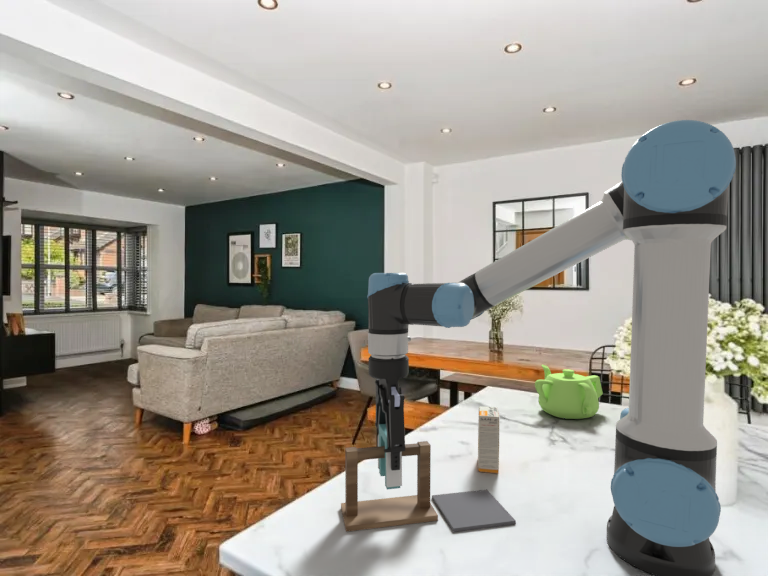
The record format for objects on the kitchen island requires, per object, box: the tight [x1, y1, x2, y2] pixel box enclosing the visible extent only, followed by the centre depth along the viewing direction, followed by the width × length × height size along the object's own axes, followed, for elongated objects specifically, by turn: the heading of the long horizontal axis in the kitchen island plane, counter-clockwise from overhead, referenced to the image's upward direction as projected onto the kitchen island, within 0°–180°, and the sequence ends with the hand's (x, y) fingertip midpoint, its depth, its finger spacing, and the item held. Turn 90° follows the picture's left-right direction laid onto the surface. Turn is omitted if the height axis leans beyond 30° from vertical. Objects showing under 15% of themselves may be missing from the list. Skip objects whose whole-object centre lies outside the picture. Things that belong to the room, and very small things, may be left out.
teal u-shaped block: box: [378, 424, 401, 490], centre depth 83 cm, size 7×2×10 cm, turn 12°
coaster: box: [431, 489, 517, 533], centre depth 85 cm, size 12×12×1 cm
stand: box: [340, 440, 439, 533], centre depth 84 cm, size 8×17×13 cm, turn 102°
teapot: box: [534, 364, 604, 420], centre depth 145 cm, size 19×20×14 cm
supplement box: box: [477, 406, 500, 474], centre depth 105 cm, size 8×5×13 cm, turn 168°
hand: (389, 476), depth 83 cm, fingers closed on teal u-shaped block, 7 cm apart
